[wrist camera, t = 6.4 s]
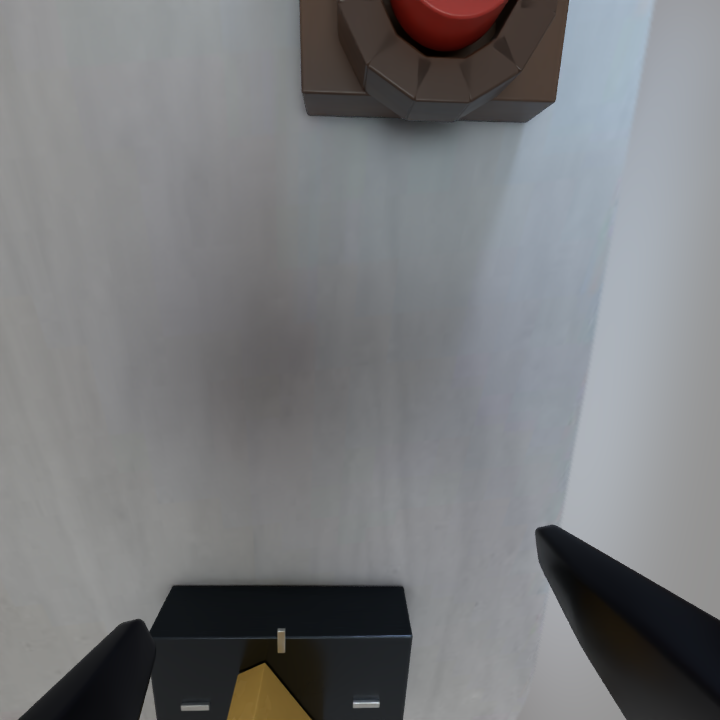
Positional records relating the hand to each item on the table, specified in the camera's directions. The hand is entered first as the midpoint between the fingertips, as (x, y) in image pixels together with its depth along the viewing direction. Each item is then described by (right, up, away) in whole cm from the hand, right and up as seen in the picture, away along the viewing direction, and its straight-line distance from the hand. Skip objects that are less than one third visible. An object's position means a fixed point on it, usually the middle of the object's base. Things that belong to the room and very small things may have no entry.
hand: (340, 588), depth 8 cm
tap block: (-4, -12, +14) cm, 19 cm away
